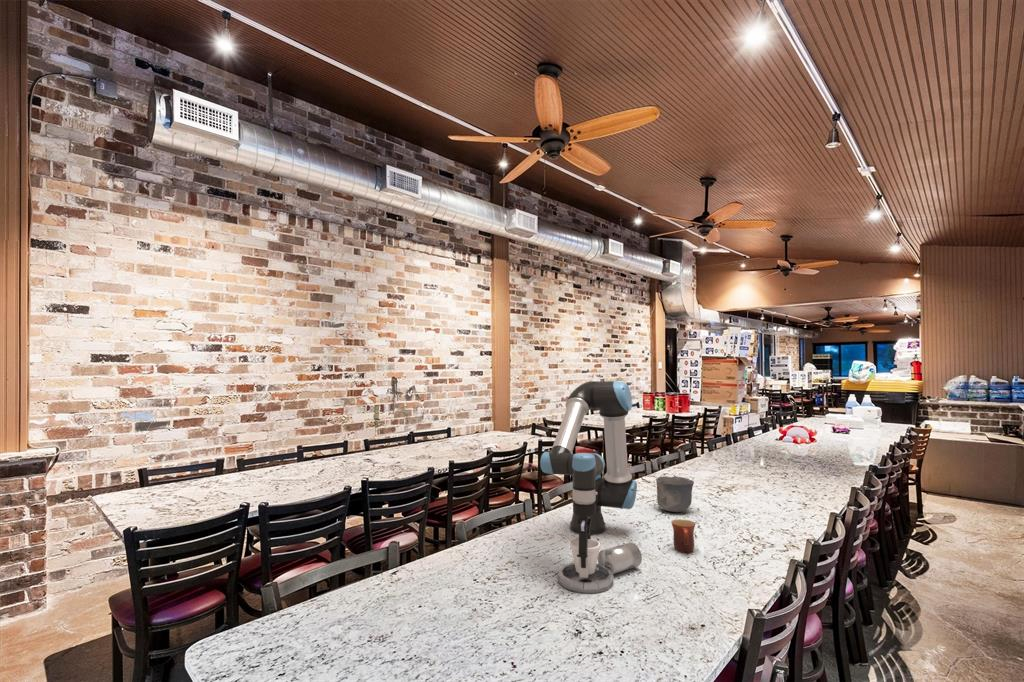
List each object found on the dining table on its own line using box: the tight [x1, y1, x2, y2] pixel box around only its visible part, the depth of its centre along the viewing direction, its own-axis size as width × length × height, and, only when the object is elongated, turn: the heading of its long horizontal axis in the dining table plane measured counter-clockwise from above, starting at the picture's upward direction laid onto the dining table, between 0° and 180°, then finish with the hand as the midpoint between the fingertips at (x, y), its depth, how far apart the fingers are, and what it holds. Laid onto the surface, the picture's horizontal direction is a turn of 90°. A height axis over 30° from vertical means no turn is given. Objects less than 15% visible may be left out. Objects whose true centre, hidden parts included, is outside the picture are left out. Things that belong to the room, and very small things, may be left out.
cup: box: [569, 537, 601, 575], centre depth 164 cm, size 10×10×9 cm
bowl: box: [655, 475, 695, 513], centre depth 240 cm, size 18×18×15 cm
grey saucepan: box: [557, 542, 643, 595], centre depth 167 cm, size 31×18×8 cm, turn 123°
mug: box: [671, 518, 696, 554], centre depth 189 cm, size 12×9×10 cm
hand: (585, 570), depth 164 cm, fingers closed on cup, 9 cm apart
